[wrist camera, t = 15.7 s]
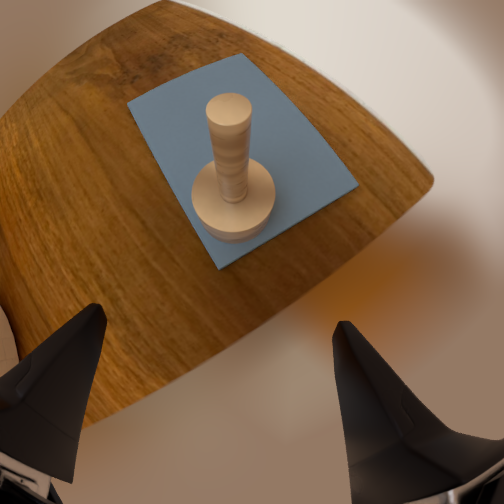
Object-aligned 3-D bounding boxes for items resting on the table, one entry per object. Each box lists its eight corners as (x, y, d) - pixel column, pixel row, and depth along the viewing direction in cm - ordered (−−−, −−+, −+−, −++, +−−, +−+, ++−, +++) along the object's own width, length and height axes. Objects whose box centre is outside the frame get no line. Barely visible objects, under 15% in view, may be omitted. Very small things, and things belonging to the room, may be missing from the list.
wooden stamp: (253, 255, 21) (269, 193, 9) (186, 226, 21) (131, 142, 9) (280, 192, 22) (317, 88, 10) (217, 167, 22) (201, 54, 10)
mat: (357, 187, 23) (359, 184, 22) (219, 270, 21) (218, 269, 20) (241, 56, 25) (241, 52, 25) (128, 106, 23) (126, 103, 23)
